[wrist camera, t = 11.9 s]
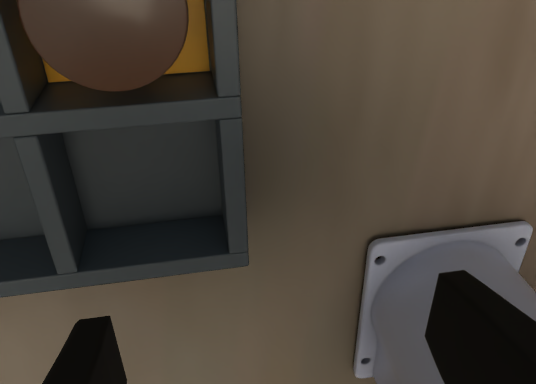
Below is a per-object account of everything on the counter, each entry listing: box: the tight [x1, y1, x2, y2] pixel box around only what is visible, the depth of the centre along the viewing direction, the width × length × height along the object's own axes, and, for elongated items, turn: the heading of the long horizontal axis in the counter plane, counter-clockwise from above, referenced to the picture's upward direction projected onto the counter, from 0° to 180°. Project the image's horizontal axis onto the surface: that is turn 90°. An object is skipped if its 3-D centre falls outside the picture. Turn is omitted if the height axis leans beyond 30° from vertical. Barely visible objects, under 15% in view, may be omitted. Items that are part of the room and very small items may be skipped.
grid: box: [0, 0, 249, 297], centre depth 15 cm, size 12×12×3 cm
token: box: [17, 0, 189, 92], centre depth 13 cm, size 4×4×3 cm
